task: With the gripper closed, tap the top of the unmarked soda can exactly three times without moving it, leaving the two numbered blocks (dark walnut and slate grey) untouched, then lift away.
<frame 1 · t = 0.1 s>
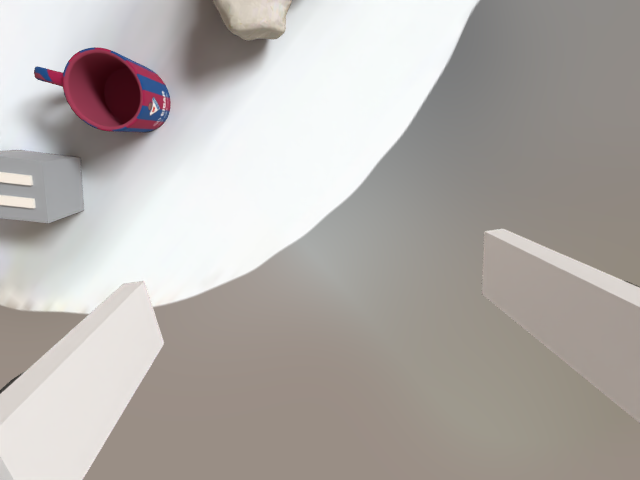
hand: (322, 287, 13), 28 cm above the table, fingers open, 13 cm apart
slate numbered block: (53, 181, 37), on the table
mug: (122, 93, 35), on the table
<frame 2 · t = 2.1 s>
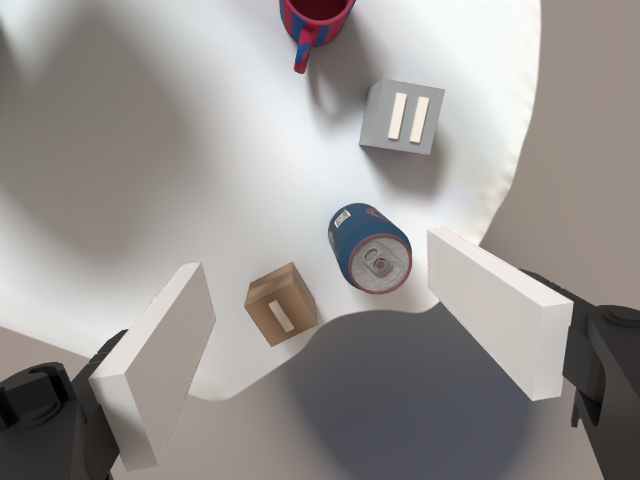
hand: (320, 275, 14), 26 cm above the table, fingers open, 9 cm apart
soda can: (354, 228, 40), on the table
slate numbered block: (389, 120, 37), on the table
walnut numbered block: (282, 291, 42), on the table
mug: (307, 27, 33), on the table
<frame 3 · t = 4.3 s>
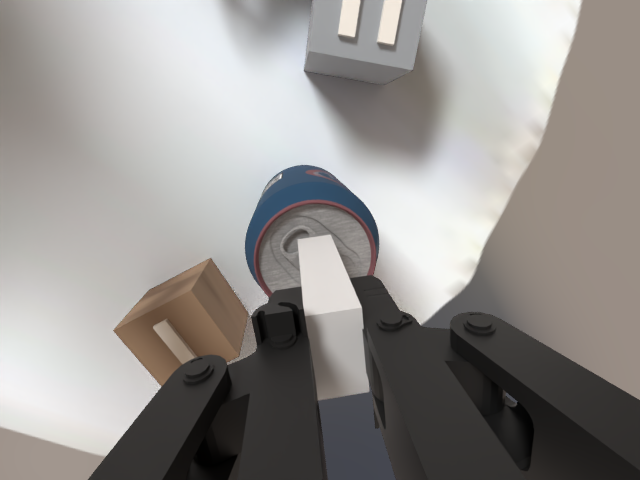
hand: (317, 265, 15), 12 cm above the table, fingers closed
soda can: (303, 206, 27), on the table, touching gripper
slate numbered block: (351, 32, 23), on the table
walnut numbered block: (200, 301, 28), on the table
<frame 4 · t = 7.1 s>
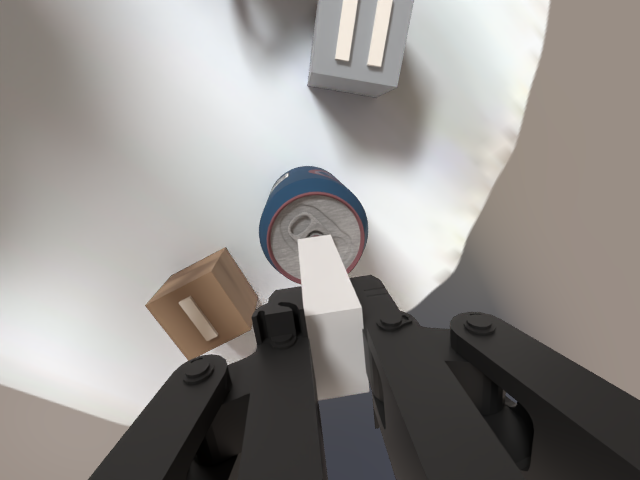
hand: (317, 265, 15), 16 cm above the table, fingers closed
soda can: (307, 202, 31), on the table
slate numbered block: (347, 52, 27), on the table
walnut numbered block: (215, 286, 32), on the table
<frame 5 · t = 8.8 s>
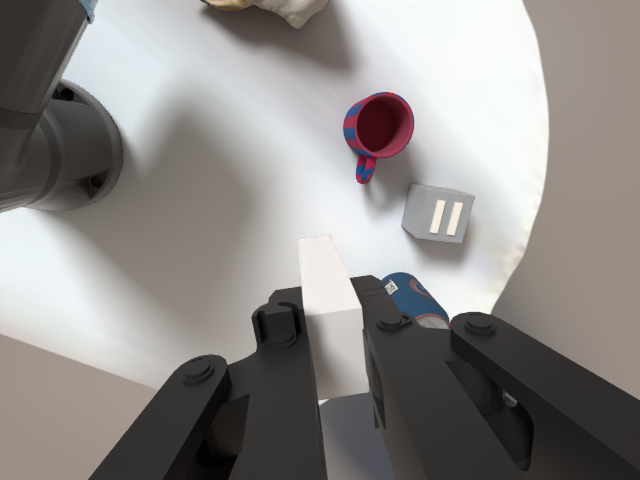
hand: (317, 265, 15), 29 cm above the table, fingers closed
soda can: (394, 289, 49), on the table
slate numbered block: (425, 207, 46), on the table
mug: (363, 140, 42), on the table
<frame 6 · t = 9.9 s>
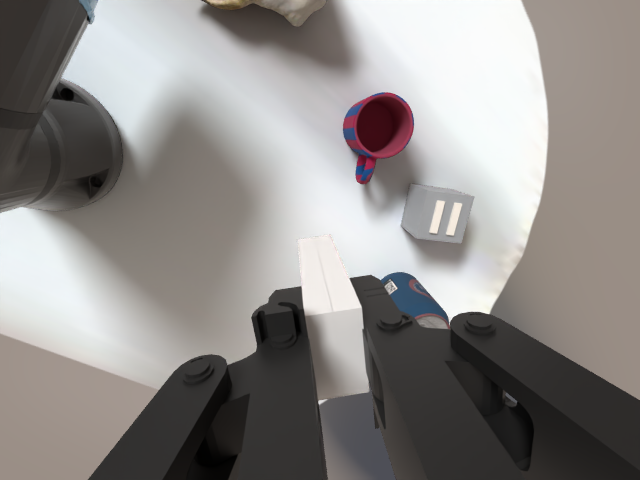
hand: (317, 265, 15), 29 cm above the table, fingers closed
soda can: (394, 289, 49), on the table
slate numbered block: (425, 207, 46), on the table
mug: (363, 140, 42), on the table
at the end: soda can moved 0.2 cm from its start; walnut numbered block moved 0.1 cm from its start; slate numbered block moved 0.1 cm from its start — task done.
